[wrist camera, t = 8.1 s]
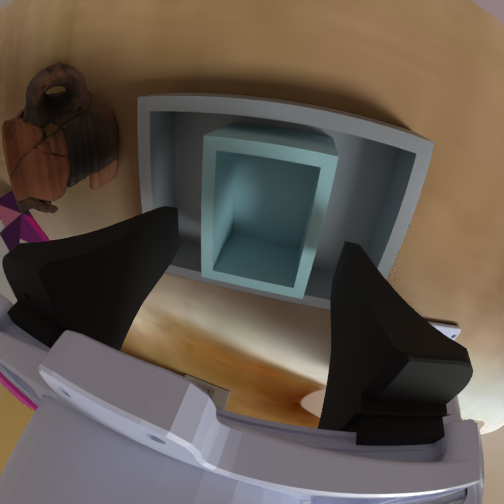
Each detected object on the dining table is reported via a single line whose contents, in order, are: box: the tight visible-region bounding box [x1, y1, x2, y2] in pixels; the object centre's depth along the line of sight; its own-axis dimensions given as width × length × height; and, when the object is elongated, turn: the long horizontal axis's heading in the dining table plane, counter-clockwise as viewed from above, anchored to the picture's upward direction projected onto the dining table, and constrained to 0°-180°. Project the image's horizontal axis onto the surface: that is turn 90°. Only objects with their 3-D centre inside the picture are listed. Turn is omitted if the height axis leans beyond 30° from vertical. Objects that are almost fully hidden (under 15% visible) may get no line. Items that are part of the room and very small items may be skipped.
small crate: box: [201, 122, 339, 299], centre depth 14 cm, size 8×6×4 cm
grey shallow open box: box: [137, 92, 435, 310], centre depth 15 cm, size 11×14×4 cm
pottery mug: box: [2, 62, 119, 214], centre depth 15 cm, size 12×10×8 cm
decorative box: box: [0, 190, 50, 411], centre depth 24 cm, size 19×19×15 cm
